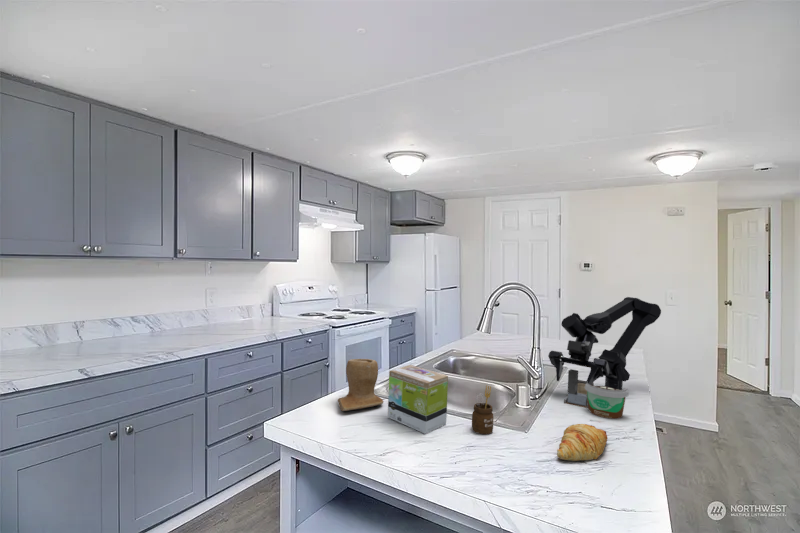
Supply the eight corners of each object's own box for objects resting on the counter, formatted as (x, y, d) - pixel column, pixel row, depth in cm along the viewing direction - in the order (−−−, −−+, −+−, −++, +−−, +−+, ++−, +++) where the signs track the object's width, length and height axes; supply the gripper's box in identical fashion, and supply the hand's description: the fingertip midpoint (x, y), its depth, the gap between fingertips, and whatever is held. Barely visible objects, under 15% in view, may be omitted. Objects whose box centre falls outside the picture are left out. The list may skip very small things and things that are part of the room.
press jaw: (568, 399, 137) (569, 369, 137) (587, 403, 134) (588, 372, 134) (567, 402, 135) (568, 370, 135) (585, 406, 132) (587, 374, 132)
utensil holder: (467, 431, 114) (469, 388, 114) (478, 423, 119) (479, 383, 119) (487, 437, 110) (488, 393, 110) (496, 429, 115) (498, 387, 115)
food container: (582, 418, 125) (583, 386, 125) (583, 411, 131) (584, 381, 131) (627, 427, 120) (629, 393, 119) (627, 420, 125) (628, 388, 125)
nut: (576, 393, 145) (576, 382, 145) (588, 395, 143) (589, 384, 143) (574, 396, 142) (574, 385, 142) (586, 399, 140) (587, 387, 140)
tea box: (386, 419, 121) (387, 369, 120) (408, 410, 128) (410, 363, 128) (425, 435, 110) (427, 381, 110) (447, 424, 118) (449, 374, 117)
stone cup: (371, 396, 139) (372, 353, 139) (387, 408, 129) (389, 361, 129) (329, 403, 132) (330, 357, 131) (343, 416, 121) (344, 366, 121)
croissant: (569, 482, 96) (585, 459, 92) (537, 447, 103) (551, 425, 99) (612, 455, 109) (628, 434, 105) (580, 426, 115) (594, 406, 112)
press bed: (571, 393, 149) (572, 378, 148) (595, 398, 144) (596, 382, 144) (563, 406, 135) (564, 389, 135) (589, 412, 131) (589, 394, 131)
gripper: (551, 327, 144) (537, 364, 136) (608, 335, 132) (597, 376, 124) (558, 346, 150) (545, 382, 142) (613, 355, 138) (603, 395, 130)
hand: (571, 383), depth 135 cm, fingers open, 9 cm apart
